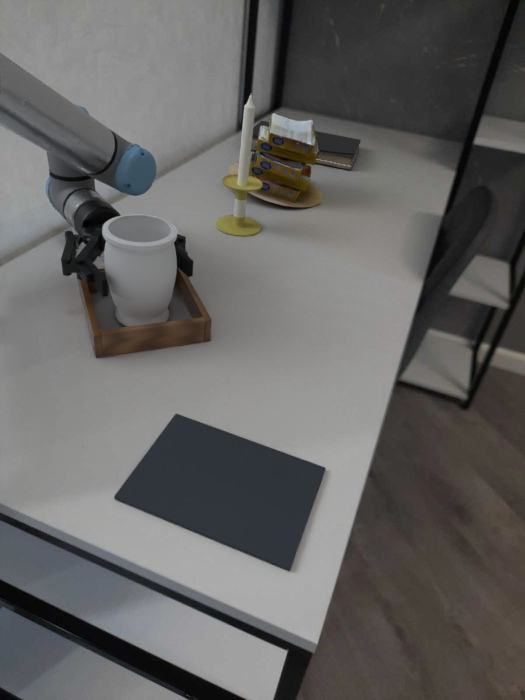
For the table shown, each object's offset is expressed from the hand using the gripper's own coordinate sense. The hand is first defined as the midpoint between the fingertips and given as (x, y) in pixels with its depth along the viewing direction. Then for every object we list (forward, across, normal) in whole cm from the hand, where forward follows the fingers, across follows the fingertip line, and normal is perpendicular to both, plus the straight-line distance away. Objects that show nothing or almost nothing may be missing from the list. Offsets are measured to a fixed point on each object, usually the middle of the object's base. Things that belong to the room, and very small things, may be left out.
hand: (150, 278), depth 76 cm
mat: (+31, +6, -8) cm, 33 cm away
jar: (-3, 0, -9) cm, 9 cm away
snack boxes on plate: (-40, -54, -8) cm, 67 cm away
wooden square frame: (-3, 0, -8) cm, 9 cm away
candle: (-25, -33, -9) cm, 42 cm away
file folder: (-65, -83, -8) cm, 106 cm away
